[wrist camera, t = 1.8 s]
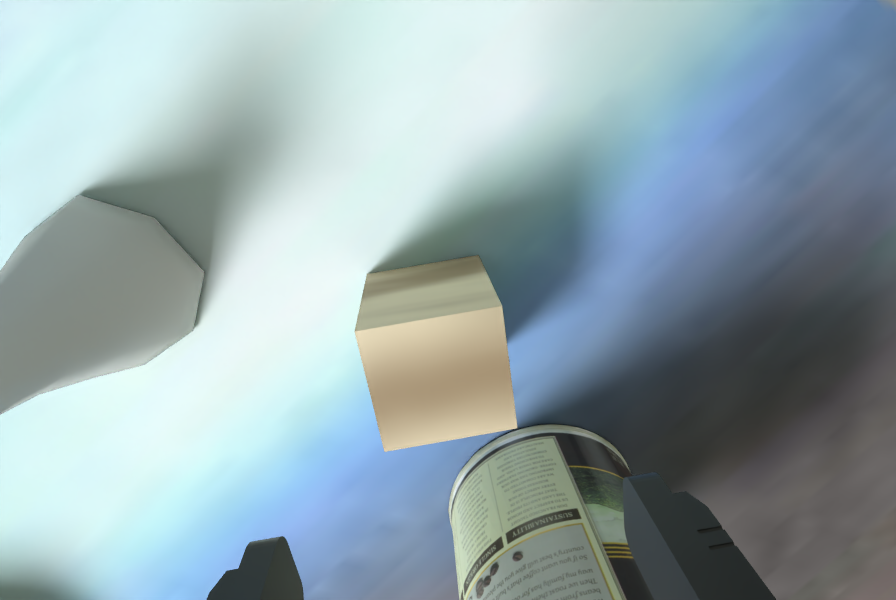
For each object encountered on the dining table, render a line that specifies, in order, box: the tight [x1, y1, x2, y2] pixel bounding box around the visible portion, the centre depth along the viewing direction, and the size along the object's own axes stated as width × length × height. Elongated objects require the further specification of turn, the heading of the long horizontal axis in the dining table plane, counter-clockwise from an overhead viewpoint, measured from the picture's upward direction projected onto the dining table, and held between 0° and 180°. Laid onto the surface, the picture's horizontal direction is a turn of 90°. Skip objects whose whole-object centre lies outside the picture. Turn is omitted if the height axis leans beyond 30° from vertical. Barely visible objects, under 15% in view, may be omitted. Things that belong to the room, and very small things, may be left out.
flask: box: [0, 195, 205, 415], centre depth 17 cm, size 7×7×10 cm
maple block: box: [355, 255, 517, 452], centre depth 21 cm, size 5×5×6 cm
